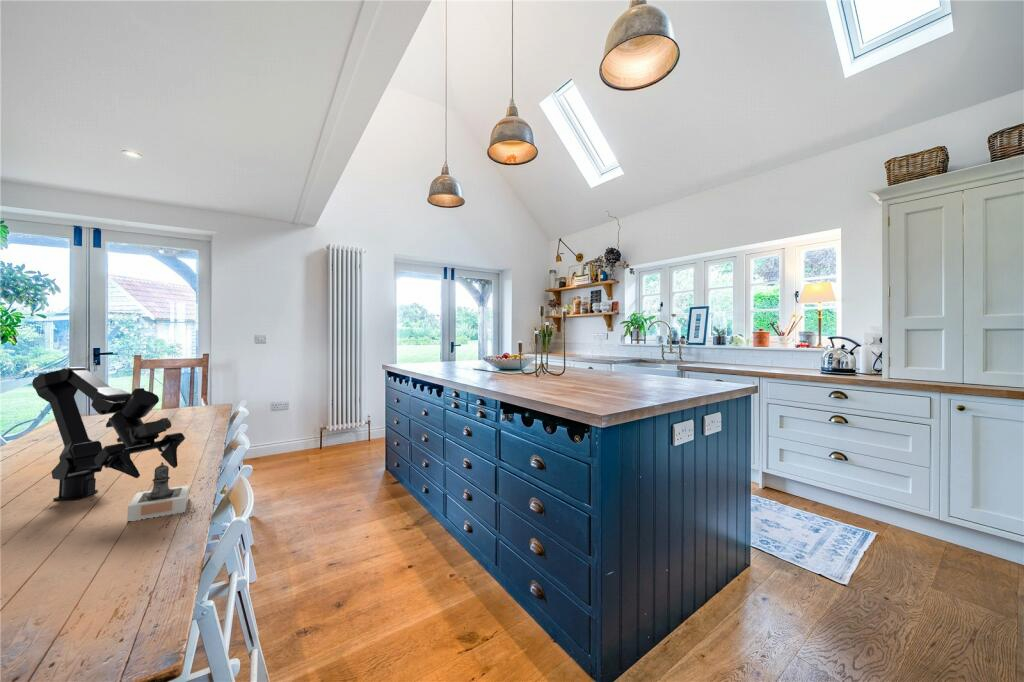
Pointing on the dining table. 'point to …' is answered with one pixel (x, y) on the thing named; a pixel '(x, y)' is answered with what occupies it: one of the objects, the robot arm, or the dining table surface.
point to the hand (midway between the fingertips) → (157, 471)
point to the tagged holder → (158, 505)
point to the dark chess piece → (160, 484)
